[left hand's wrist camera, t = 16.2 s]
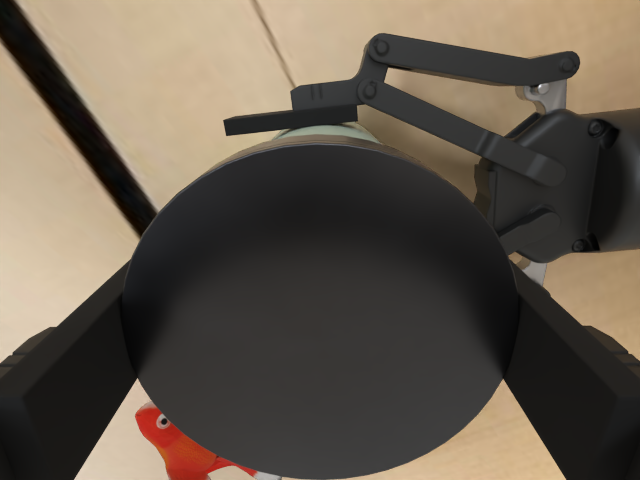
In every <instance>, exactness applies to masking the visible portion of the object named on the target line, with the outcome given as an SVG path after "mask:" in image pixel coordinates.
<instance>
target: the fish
mask: <svg viewBox="0 0 640 480" xmlns="http://www.w3.org/2000/svg"><path fill="white" fill-rule="evenodd" d="M135 418H136V421H137V423H138V426H139V429H140V431H141V432H142V434H143V436H144V437H145V438H146V439H148V440H149V441H150V442H151V443H152V444H153V445H154V446H155V447H156V448H157V450H158V451H159V453H160V454H161V456H162V457H163V459H164V461H165V464H166V471H167V474H168V478H169V480H211V479H210V477H209V476H208V475H207V474H208V473H210V472H212V471H214V470H217V469H220V468H222V467H226V466H232V465H233V466H237V467H239V468H240V469H242V470H244V471H245V472H247V473H248V474H249V475H251V476H253V477H254V478H256V479H257V480H281V478H282V477H280V476H276V475H271V474H267V473H262V472H258V471H255V470H252V469H249V468H246V467H243V466H240V465H237V464H235V463H233V462H231V461H228V460H226V459H224V458H221V457H219V456H217V455H216V454H214V453H212V452H210V451H208V450H207V449H205V448H203V447H201V446H200V445H198V444H197V443H196V442H194V441H193V440H191V439H190V438H189V437H187V436H186V435H184V434H183V433H182V432H181V431H180V430H179V429H178V428H176V427H175V426H174V425H173V424H172V423H171V422H170V421H169V420H168V419H167V418H166V417H165V416H164V415H163V414H162V413H161V411H160V410H159V409H158V408H157V407H156V406H155V405H154V403H153V402H152V401H151V402H149V403H146V404H145V405H144V406H142V407H141V408H140V409H139V410H138V411H137V413H136V415H135Z"/></svg>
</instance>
